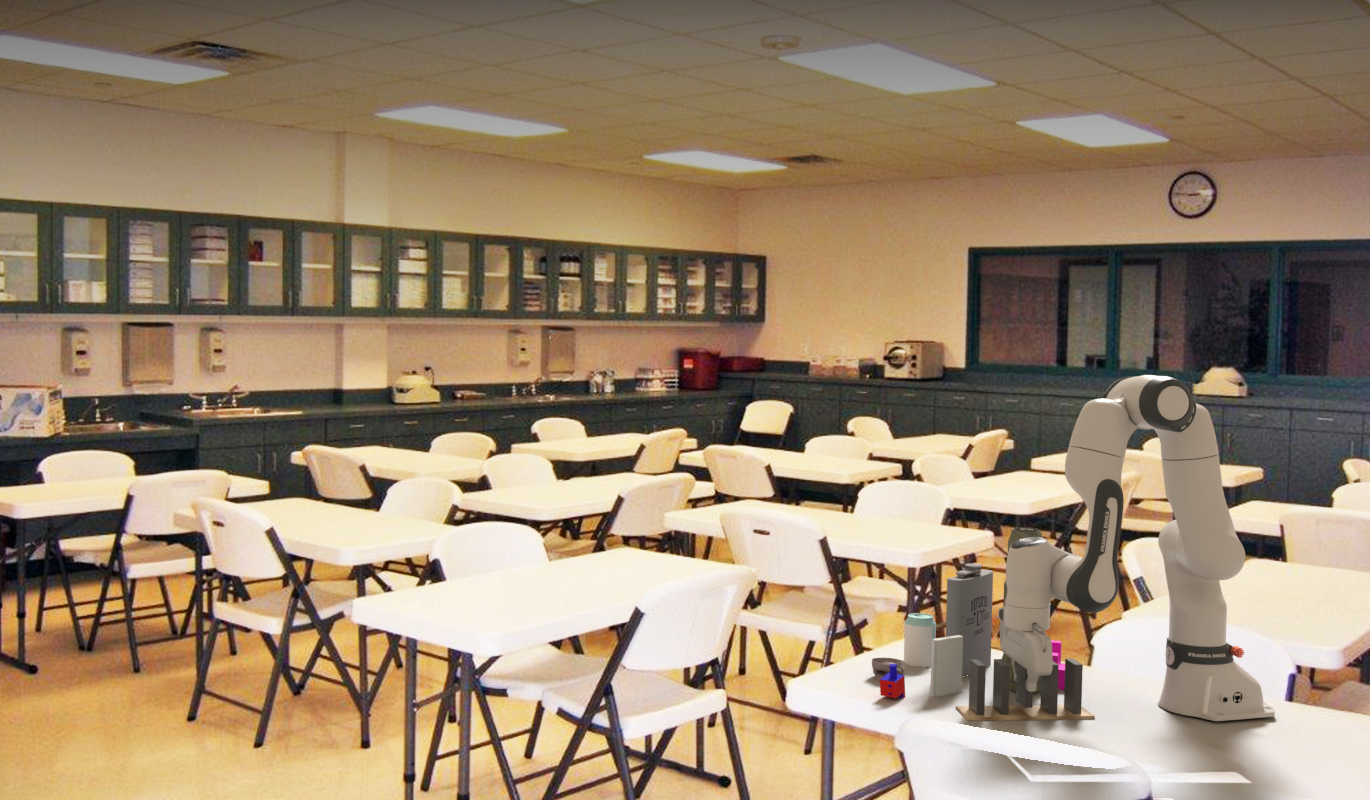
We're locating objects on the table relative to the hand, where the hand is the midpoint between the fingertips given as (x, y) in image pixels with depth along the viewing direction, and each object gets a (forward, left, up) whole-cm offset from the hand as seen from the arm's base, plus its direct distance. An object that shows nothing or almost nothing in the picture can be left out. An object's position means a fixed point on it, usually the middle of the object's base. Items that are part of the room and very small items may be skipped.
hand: (1024, 686), depth 262 cm
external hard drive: (+12, -14, -6) cm, 19 cm away
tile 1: (+10, 0, -5) cm, 11 cm away
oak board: (0, 0, -6) cm, 6 cm away
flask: (+1, -32, -6) cm, 33 cm away
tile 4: (-5, 0, -5) cm, 7 cm away
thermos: (-6, -18, -6) cm, 20 cm away
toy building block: (+24, -11, -6) cm, 27 cm away
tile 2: (+5, 0, -5) cm, 7 cm away
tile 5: (-10, 0, -5) cm, 11 cm away
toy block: (-17, -25, -6) cm, 31 cm away
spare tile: (0, 0, -4) cm, 4 cm away
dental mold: (+22, -25, -6) cm, 33 cm away
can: (+11, -38, -6) cm, 40 cm away
